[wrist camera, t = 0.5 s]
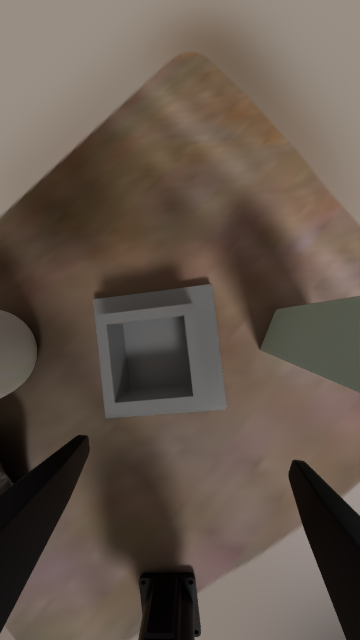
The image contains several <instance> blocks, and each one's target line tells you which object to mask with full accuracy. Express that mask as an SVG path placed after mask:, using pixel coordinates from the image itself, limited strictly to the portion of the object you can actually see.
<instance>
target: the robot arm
mask: <svg viewBox="0 0 360 640" xmlns="http://www.w3.org/2000/svg"><path fill="white" fill-rule="evenodd" d="M89 450H90V448H89V439H88V436H87V435H78V436H76V437H75V438H73V439H72V440H71V441H69V442H68V443H67V444H65V445H64V446H63V447H62V448H60V449H59V450H58V451H56V452H55V453H54V454H52V455H51V456H50V457H48V458H47V459H46V460H45V461H43V462H42V463H41V464H39V465H38V466H37V467H35V468H34V469H33V470H31V471H30V472H29V473H27V474H26V475H25V476H24V477H22V478H21V479H20V480H18V481H17V482H16V483H14V484H13V485H12V486H10V487H9V488H8V489H7V490H5V491H4V492H3V493H1V494H0V633H1V631H2V629H3V627H4V625H5V623H6V621H7V619H8V617H9V615H10V613H11V612H12V610H13V608H14V606H15V604H16V602H17V600H18V598H19V596H20V594H21V592H22V590H23V588H24V586H25V584H26V583H27V581H28V579H29V577H30V575H31V573H32V571H33V569H34V567H35V565H36V563H37V561H38V559H39V557H40V555H41V554H42V552H43V550H44V548H45V546H46V544H47V542H48V540H49V538H50V536H51V534H52V532H53V530H54V528H55V526H56V524H57V523H58V521H59V519H60V517H61V515H62V513H63V511H64V509H65V507H66V505H67V503H68V501H69V499H70V497H71V495H72V493H73V490H74V488H75V486H76V483H77V481H78V478H79V476H80V474H81V471H82V469H83V466H84V464H85V462H86V459H87V457H88V454H89ZM289 481H290V484H291V488H292V491H293V494H294V498H295V501H296V504H297V508H298V511H299V514H300V518H301V521H302V524H303V527H304V530H305V533H306V535H307V538H308V541H309V544H310V546H311V549H312V551H313V554H314V557H315V559H316V562H317V564H318V567H319V570H320V572H321V575H322V577H323V580H324V583H325V585H326V588H327V590H328V593H329V596H330V598H331V601H332V603H333V606H334V609H335V611H336V614H337V616H338V619H339V622H340V624H341V627H342V629H343V632H344V635H345V637H346V640H360V516H359V515H358V514H357V513H356V512H355V511H354V510H353V509H352V508H351V507H350V506H349V505H348V504H347V503H346V502H345V501H344V500H343V499H342V498H341V497H340V496H339V495H338V494H337V493H336V492H335V491H334V490H333V489H332V488H331V487H330V486H329V485H328V484H327V483H326V482H325V481H324V480H323V479H322V478H321V477H320V476H319V475H318V474H317V473H316V472H315V471H314V470H313V469H312V468H311V467H310V466H309V465H308V464H307V463H306V462H304V461H302V460H293V461H292V464H291V467H290V470H289ZM139 586H140V595H141V605H142V614H143V616H142V622H141V627H140V633H139V639H138V640H194V637H198V636H200V634H201V625H200V617H199V608H198V599H197V590H196V581H195V576H194V574H192V573H143V574H141V576H140V580H139Z"/></svg>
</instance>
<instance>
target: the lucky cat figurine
mask: <svg viewBox="0 0 360 640" xmlns="http://www.w3.org/2000/svg"><path fill="white" fill-rule="evenodd" d="M12 485H13V484H12V481H11V478H9V477H8V476H7V475H6V473H5V471H4V469H3V467H2V466H1V464H0V494H1V493H3V492H4V491H5V490H7V489H8V488H9V487H10V486H12Z"/></svg>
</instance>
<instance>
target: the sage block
mask: <svg viewBox="0 0 360 640" xmlns="http://www.w3.org/2000/svg"><path fill="white" fill-rule="evenodd" d="M260 350H261V351H264V352H266V353H268V354H271V355H273V356H275V357H278V358H280V359H282V360H285V361H287V362H289V363H292V364H294V365H297V366H299V367H301V368H304V369H306V370H308V371H311V372H313V373H315V374H318V375H320V376H322V377H325V378H327V379H329V380H332V381H334V382H336V383H339V384H341V385H343V386H346V387H348V388H350V389H353V390H355V391H357V392H360V296H357V297H350V298H344V299H337V300H331V301H325V302H318V303H312V304H306V305H299V306H293V307H287V308H280V309H276V311H275V313H274V315H273V318H272V320H271V323H270V325H269V328H268V330H267V333H266V335H265V338H264V340H263V343H262V345H261V348H260Z"/></svg>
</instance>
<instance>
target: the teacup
mask: <svg viewBox="0 0 360 640" xmlns="http://www.w3.org/2000/svg"><path fill="white" fill-rule="evenodd" d="M36 359H37V345H36V341H35V338H34V335H33V333H32V332H31V330H30V328H29V327H28V326H27V325H26V324H25V323H24V322H23V321H22V320H21V319H19V318H18V317H16V316H15V315H13V314H11V313H8V312H6V311H3V310H0V398H2V397H4V396H6V395H8V394H9V393H11V392H13V391H14V390H16V389H17V388H18V387H20V386H21V385H22V384H23V383H24V382H25V381H26V380H27V379H28V377H29V376H30V374H31V373H32V371H33V369H34V367H35V363H36Z"/></svg>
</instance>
